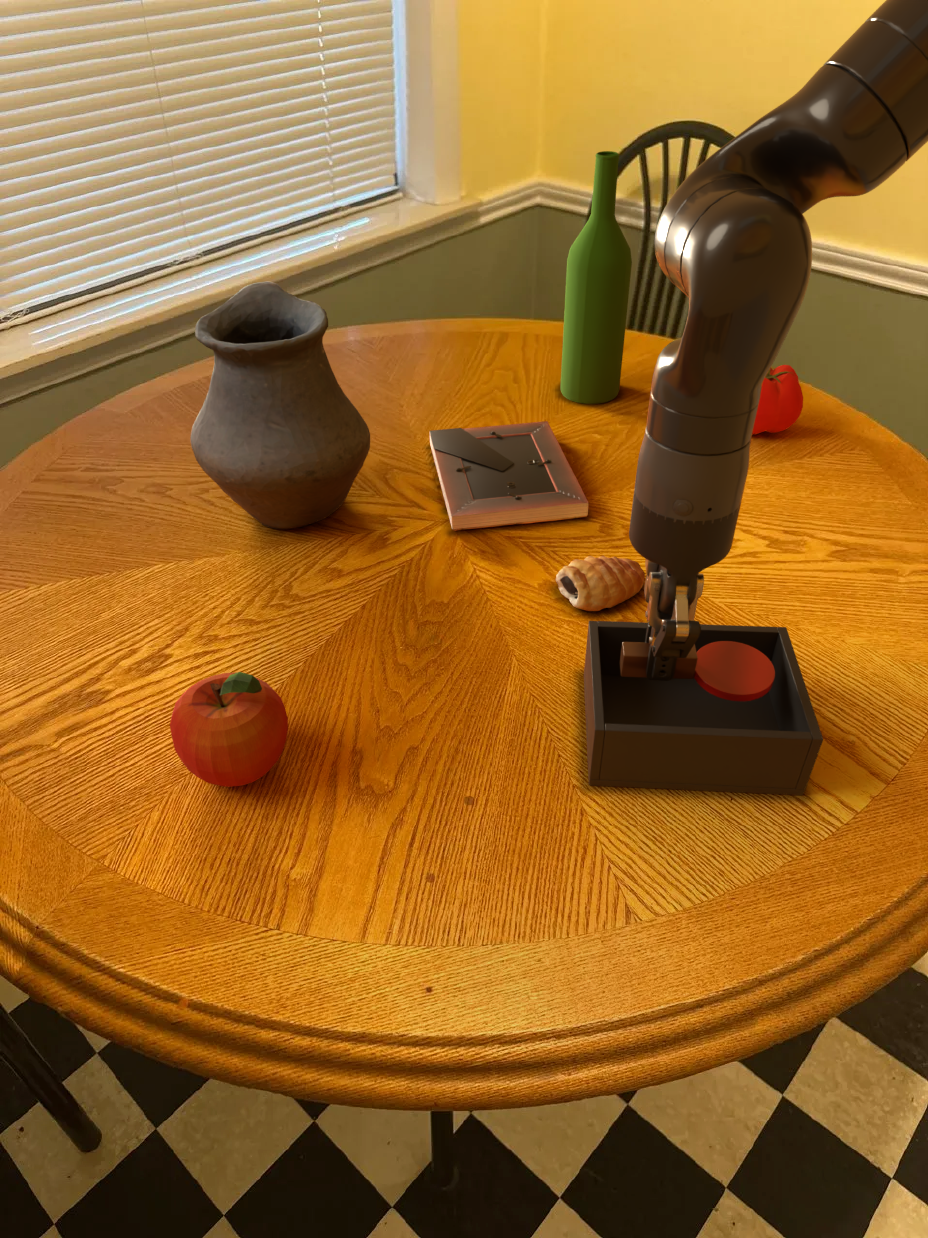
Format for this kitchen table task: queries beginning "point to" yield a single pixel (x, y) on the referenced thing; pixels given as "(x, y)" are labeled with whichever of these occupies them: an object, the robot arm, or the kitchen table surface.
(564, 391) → the wine bottle
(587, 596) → the pastry
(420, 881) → the kitchen table surface
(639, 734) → the bin
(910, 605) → the kitchen table surface
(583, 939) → the kitchen table surface
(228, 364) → the grey clay vase
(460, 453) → the picture frame
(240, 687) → the fruit
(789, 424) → the tomato
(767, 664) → the paddle
